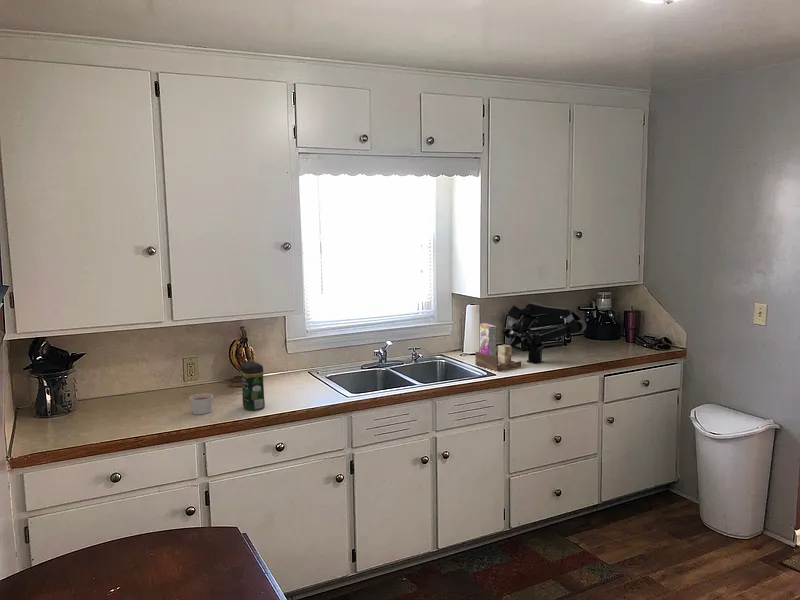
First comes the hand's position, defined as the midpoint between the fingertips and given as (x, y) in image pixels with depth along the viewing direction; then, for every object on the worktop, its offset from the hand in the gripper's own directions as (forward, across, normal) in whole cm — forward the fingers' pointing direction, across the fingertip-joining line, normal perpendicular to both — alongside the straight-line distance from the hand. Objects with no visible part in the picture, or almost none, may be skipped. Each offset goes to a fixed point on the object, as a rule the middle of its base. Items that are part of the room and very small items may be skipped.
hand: (508, 348), depth 332 cm
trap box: (+11, 0, +1) cm, 11 cm away
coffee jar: (+101, +2, -89) cm, 135 cm away
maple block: (+6, 0, +3) cm, 7 cm away
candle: (+114, -4, -103) cm, 154 cm away
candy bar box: (+2, -24, +10) cm, 26 cm away
